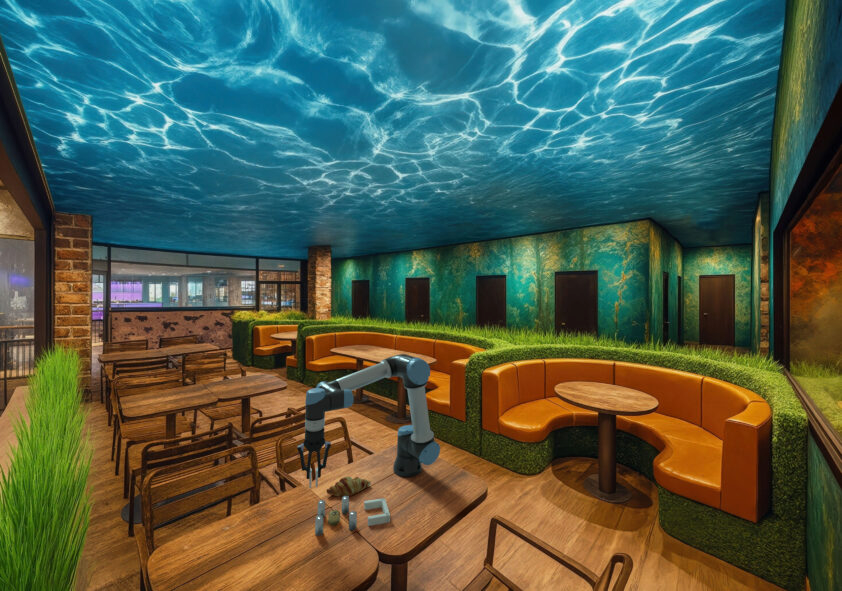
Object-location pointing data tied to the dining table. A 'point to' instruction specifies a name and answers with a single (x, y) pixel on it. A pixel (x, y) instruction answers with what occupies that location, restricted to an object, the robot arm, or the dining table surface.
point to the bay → (381, 517)
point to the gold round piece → (334, 517)
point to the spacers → (344, 510)
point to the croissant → (348, 486)
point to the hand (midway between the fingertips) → (313, 485)
